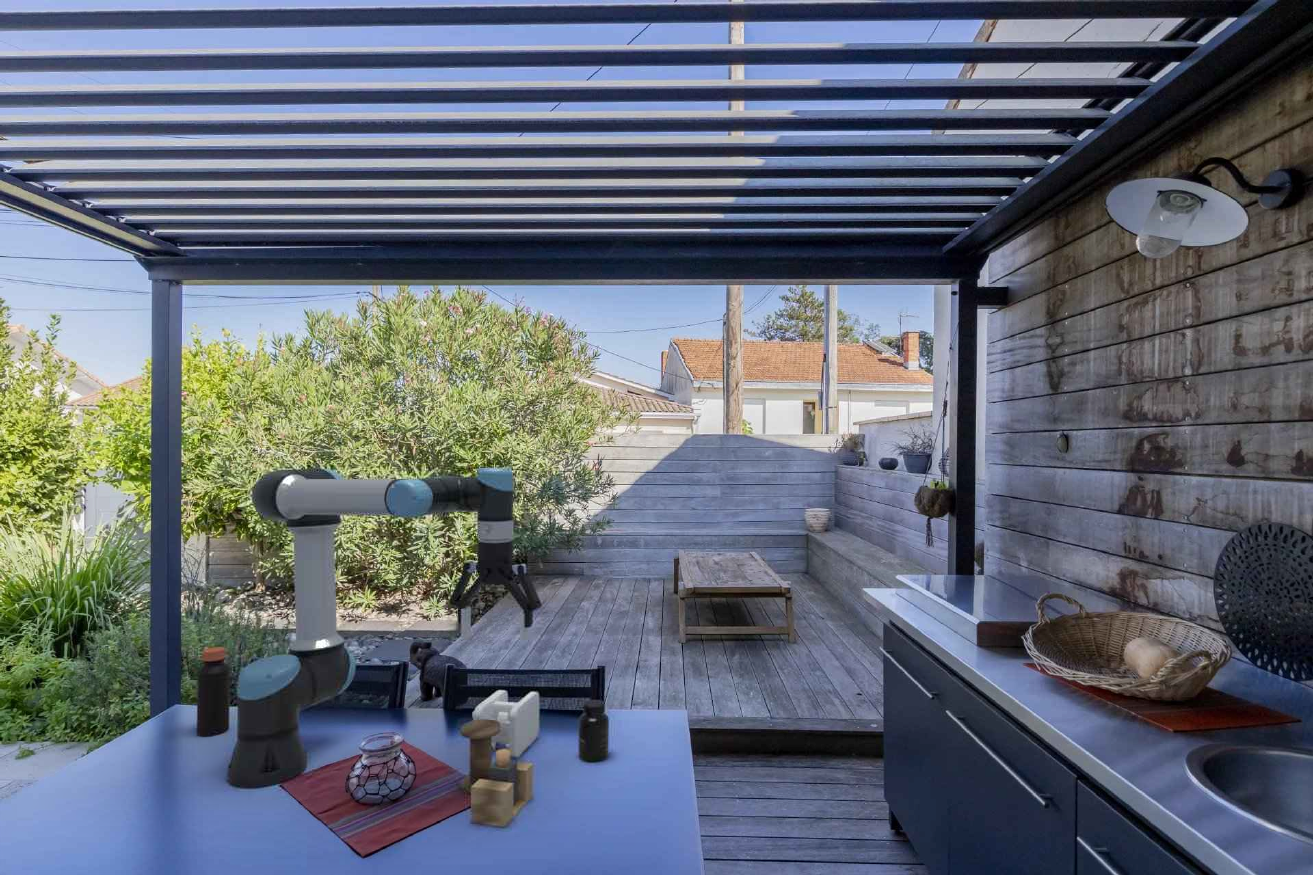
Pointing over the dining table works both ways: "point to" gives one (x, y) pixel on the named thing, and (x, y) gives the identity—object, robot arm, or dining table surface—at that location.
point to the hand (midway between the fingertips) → (494, 640)
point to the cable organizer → (512, 720)
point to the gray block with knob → (504, 770)
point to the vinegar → (213, 693)
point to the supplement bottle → (593, 732)
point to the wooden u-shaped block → (501, 798)
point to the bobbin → (479, 749)
